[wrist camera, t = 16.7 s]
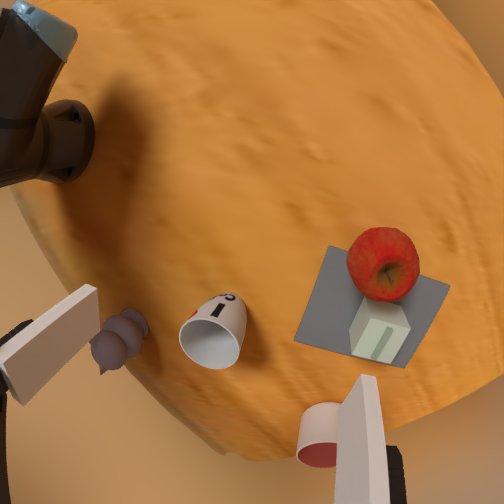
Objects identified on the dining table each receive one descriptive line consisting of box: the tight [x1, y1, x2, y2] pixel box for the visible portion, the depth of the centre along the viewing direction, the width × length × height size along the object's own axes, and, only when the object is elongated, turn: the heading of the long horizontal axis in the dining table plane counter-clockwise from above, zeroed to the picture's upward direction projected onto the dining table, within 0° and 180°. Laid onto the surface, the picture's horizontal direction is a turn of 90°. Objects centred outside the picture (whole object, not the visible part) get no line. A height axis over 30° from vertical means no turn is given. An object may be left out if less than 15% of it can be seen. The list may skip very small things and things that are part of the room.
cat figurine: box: [89, 309, 149, 375], centre depth 45 cm, size 8×8×12 cm
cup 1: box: [179, 293, 247, 369], centre depth 40 cm, size 8×8×10 cm
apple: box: [346, 227, 420, 302], centre depth 32 cm, size 9×8×11 cm
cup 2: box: [296, 402, 341, 468], centre depth 44 cm, size 10×10×10 cm
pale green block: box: [349, 296, 411, 364], centre depth 36 cm, size 6×6×7 cm
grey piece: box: [294, 246, 450, 368], centre depth 38 cm, size 20×16×5 cm
